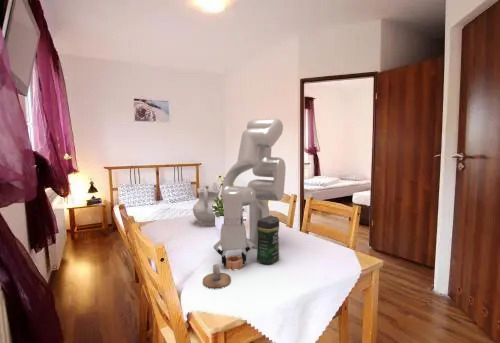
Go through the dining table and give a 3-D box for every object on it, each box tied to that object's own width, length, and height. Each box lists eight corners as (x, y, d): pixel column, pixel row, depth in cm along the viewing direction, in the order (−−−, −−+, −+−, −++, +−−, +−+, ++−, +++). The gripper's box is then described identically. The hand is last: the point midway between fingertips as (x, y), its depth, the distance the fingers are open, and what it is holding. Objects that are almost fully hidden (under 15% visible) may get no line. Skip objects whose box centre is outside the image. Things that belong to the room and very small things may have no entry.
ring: (240, 261, 118) (240, 254, 118) (244, 268, 112) (244, 261, 111) (224, 263, 117) (224, 256, 116) (226, 270, 110) (226, 263, 110)
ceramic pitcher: (227, 230, 163) (229, 187, 160) (192, 230, 158) (194, 186, 156) (222, 220, 184) (224, 182, 182) (191, 219, 179) (193, 180, 177)
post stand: (228, 273, 108) (228, 258, 107) (232, 286, 98) (232, 270, 97) (202, 276, 106) (201, 261, 105) (203, 290, 96) (203, 273, 95)
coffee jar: (270, 266, 113) (270, 221, 111) (254, 261, 118) (253, 218, 116) (282, 258, 121) (282, 216, 119) (266, 254, 126) (266, 213, 123)
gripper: (252, 217, 118) (252, 258, 120) (210, 219, 114) (211, 262, 116) (256, 222, 110) (257, 265, 112) (212, 225, 107) (213, 270, 109)
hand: (233, 263), depth 114 cm, fingers closed on ring, 7 cm apart
